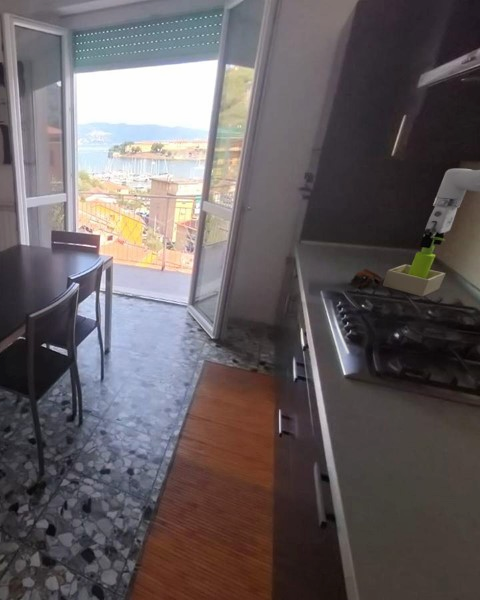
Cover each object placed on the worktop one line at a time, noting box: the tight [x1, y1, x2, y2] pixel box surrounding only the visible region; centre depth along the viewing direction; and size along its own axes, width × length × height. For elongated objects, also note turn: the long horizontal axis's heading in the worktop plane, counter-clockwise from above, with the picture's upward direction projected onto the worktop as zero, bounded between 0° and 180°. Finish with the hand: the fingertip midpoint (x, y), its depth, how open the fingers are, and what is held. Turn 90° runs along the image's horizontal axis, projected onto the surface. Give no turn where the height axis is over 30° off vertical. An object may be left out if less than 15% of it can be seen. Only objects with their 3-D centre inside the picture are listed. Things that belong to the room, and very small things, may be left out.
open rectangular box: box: [382, 263, 446, 297], centre depth 149 cm, size 14×16×7 cm
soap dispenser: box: [408, 237, 447, 279], centre depth 147 cm, size 6×7×20 cm
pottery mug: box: [349, 268, 383, 289], centre depth 150 cm, size 12×10×8 cm
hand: (430, 245), depth 144 cm, fingers open, 9 cm apart
